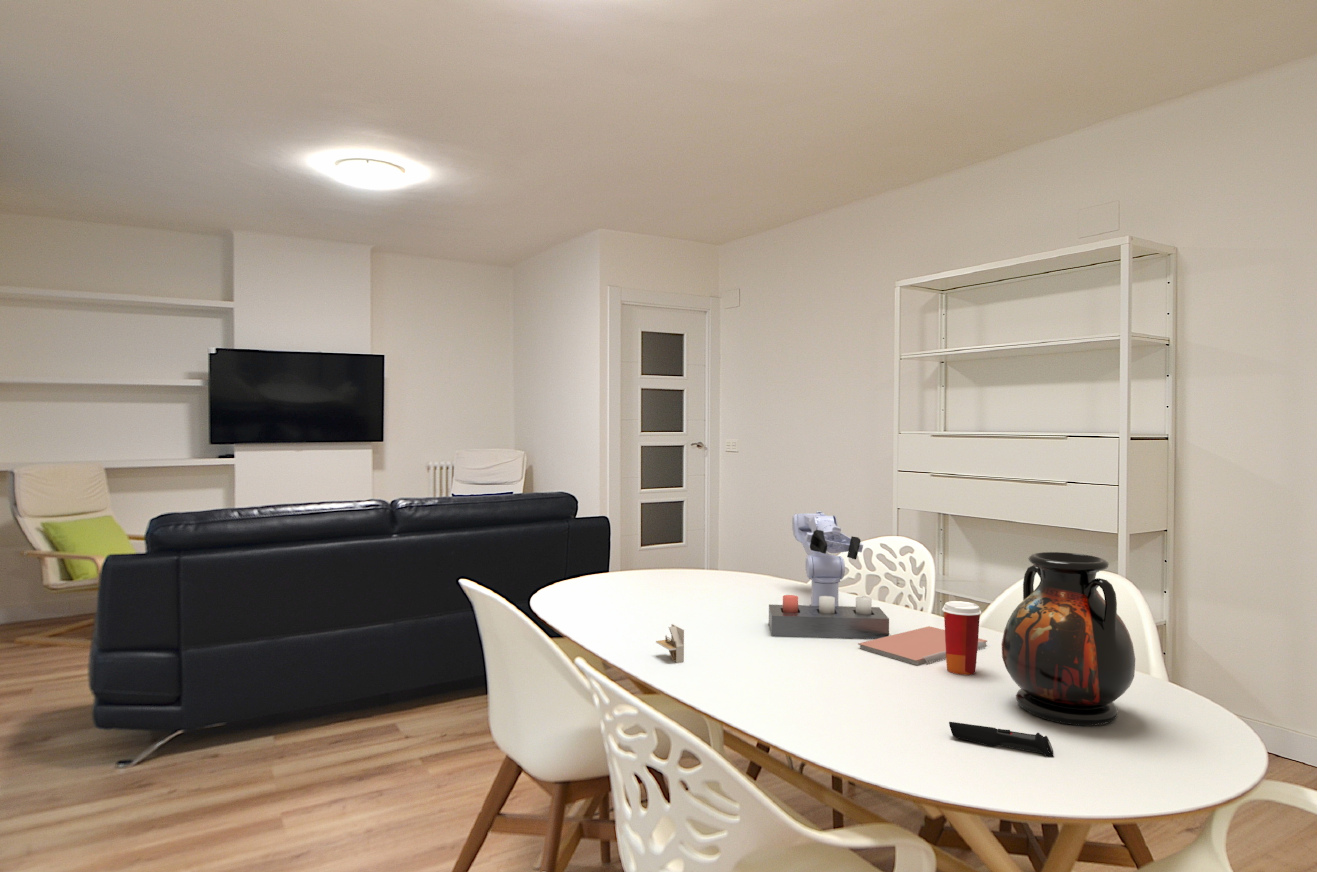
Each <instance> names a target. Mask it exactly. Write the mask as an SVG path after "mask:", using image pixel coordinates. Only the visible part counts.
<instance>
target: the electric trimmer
mask: <svg viewBox="0 0 1317 872" xmlns="http://www.w3.org/2000/svg"><path fill="white" fill-rule="evenodd" d="M948 725H949V728H950V732H951V734H952V736H953V737H954V738H957V739H962V740H965V741H969V742H973V743H976V744H981V745H984V746H989V747H993V748H994V747H998V746H1000V747H1005V748H1010V749H1017V750H1020V751H1022V750H1023V751H1026V752H1027V751H1028V752H1033V753H1037V754H1038V753H1039V754H1043V755H1044V756H1045V757H1055V756H1054V755H1055V754H1054V748H1053V745H1052V744H1051V742H1050V741H1051V740H1050V739H1049V737H1048V736H1047V735H1045V736H1043V735H1042V734H1041V733H1040V732H1036V733H1035V734H1031V733H1025V732H1020V731H1018V732H1017V731H1013V730H1011V729H1003V728H1002V729H1001V728H996V727H992V726H986V725H985V726H984V725H979V724H978V725H975V724H971V723H962V722H956V721H949V722H948Z"/></svg>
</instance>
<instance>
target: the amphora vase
mask: <svg viewBox="0 0 1317 872" xmlns="http://www.w3.org/2000/svg"><path fill="white" fill-rule="evenodd" d="M1028 562H1030V563H1031V566H1028V567H1027V568H1026V571H1025V573H1024V576H1023V581H1022V582H1023V583H1022V591H1023V592H1022V593H1023V594H1022V595H1023V597H1022V601H1021V602H1020V603H1019V604H1018V605H1017V606H1016V607H1015V609H1014V610H1013V611H1012V613H1011V615H1010V616H1009V618H1008V620H1007V622H1006V626H1005V627H1004V630H1003V635H1002V640H1001V658H1002V661H1003V665H1004V667H1005V669H1006V671H1007V673H1008V674H1009V676H1010V677H1011V679H1012V680H1013V682H1014V683H1015V684H1016V685H1017V686H1018V687H1019V688H1020V689H1018V691H1017V692H1016V693H1015V700H1016V702H1017V704H1018V706H1019V707H1021V708H1022V709H1023V710H1025V711H1027V713H1029V714H1032V715H1034V716H1036V717H1039V718H1042V719H1043V720H1047V721H1051V722H1056V723H1059V724H1065V725H1073V726H1086V727H1087V726H1100V725H1105V724H1108V723H1111V722H1113V720H1115V719H1116V718H1117V717H1118V714H1119V709H1118V707H1117V705H1116V704H1115V703H1114V702H1115V701H1116V700H1118V699H1119V698H1120V697H1121V696H1123V695H1124V694H1125V693H1126V691H1127V690H1128V689H1129V688H1130V687H1131V685H1132V683H1133V681H1134V678H1135V670H1136V669H1135V668H1136V653H1135V648H1134V643H1133V640H1132V637H1131V635H1130V632H1129V630H1128V628H1127V626H1126V623H1125V622H1124V621H1123V619H1122V618H1121V617H1120V615H1119V614H1118V611H1117V610H1118V609H1117V608H1118V605H1117V604H1118V601H1117V594H1116V591H1115V589H1114V587H1113V584H1112V583H1111V582H1110V581H1108V580H1107V579H1104V578H1099V577H1097V578H1096V576H1097V573H1099V572H1101V571H1102V572H1103V571H1105V570H1107V569H1108V568H1109V565H1110V564H1109V562H1108V561H1107V560H1105V559H1104V558H1101V557H1098V556H1094V555H1088V554H1083V553H1076V552H1075V553H1074V552H1062V551H1061V552H1059V551H1056V552H1055V551H1049V552H1048V551H1046V552H1043V551H1042V552H1036V553H1032V554H1031V555H1029V557H1028ZM1037 574H1038V577H1039V579H1040V581H1039V584H1038V585H1037V587H1036V588H1035V589H1034V583H1035V576H1036V575H1037ZM1099 587H1100V588H1101V590H1102V593H1103V597H1104V598H1103V597H1102V595H1101V594H1100V593H1099V591H1098V588H1099Z"/></svg>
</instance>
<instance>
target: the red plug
mask: <svg viewBox="0 0 1317 872" xmlns="http://www.w3.org/2000/svg"><path fill="white" fill-rule="evenodd" d="M782 605H783V612H784V613H798V605H799V596H798V595H794V594H785V595H782Z"/></svg>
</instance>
